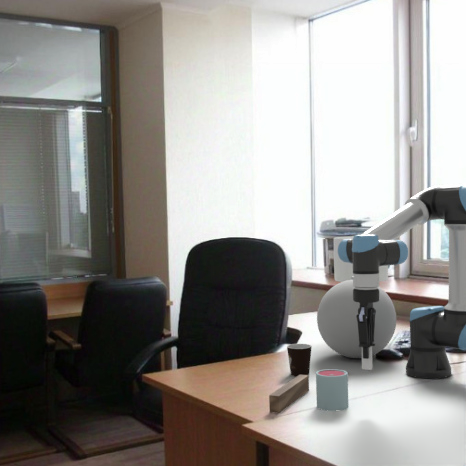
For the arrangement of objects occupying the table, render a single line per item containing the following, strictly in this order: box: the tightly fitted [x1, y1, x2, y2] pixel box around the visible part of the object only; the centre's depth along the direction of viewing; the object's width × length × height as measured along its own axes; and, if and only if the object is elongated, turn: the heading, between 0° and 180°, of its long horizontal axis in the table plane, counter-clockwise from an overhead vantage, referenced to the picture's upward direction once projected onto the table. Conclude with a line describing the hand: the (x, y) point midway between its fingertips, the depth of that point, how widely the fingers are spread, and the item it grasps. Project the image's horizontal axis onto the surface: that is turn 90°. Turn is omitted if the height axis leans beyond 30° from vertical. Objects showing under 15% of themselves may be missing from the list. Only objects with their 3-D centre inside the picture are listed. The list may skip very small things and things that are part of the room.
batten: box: [268, 374, 310, 414], centre depth 217 cm, size 3×26×5 cm, turn 155°
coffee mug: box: [286, 343, 312, 377], centre depth 251 cm, size 12×9×10 cm
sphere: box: [316, 280, 397, 359], centre depth 274 cm, size 30×30×30 cm
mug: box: [315, 368, 349, 412], centre depth 212 cm, size 14×9×10 cm
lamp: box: [333, 235, 389, 283], centre depth 307 cm, size 23×23×44 cm
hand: (367, 368), depth 207 cm, fingers closed
